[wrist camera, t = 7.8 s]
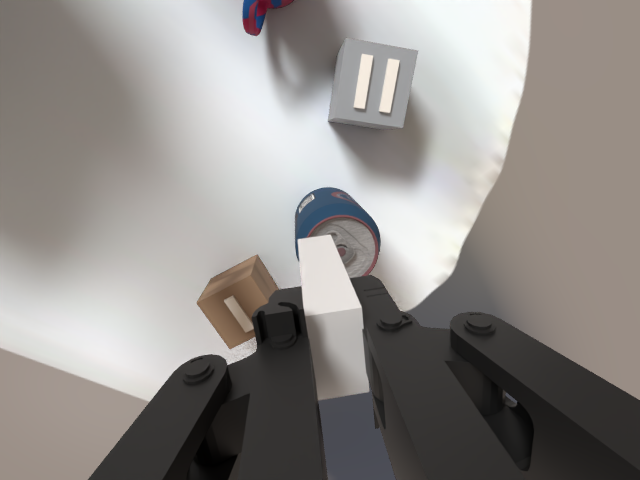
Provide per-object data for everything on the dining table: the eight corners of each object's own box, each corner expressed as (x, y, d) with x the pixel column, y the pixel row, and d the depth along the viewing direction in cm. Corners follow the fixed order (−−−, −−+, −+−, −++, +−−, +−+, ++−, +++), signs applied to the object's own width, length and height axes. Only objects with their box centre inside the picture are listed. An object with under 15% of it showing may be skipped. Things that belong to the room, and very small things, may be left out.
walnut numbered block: (239, 318, 39) (229, 351, 33) (211, 278, 37) (195, 304, 31) (283, 296, 39) (281, 324, 33) (257, 254, 37) (250, 276, 31)
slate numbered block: (327, 121, 33) (335, 117, 27) (336, 56, 32) (346, 36, 26) (384, 129, 34) (403, 127, 28) (396, 66, 32) (419, 49, 26)
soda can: (370, 217, 36) (404, 252, 25) (325, 259, 37) (338, 311, 26) (327, 172, 35) (344, 187, 23) (281, 217, 36) (275, 253, 24)
